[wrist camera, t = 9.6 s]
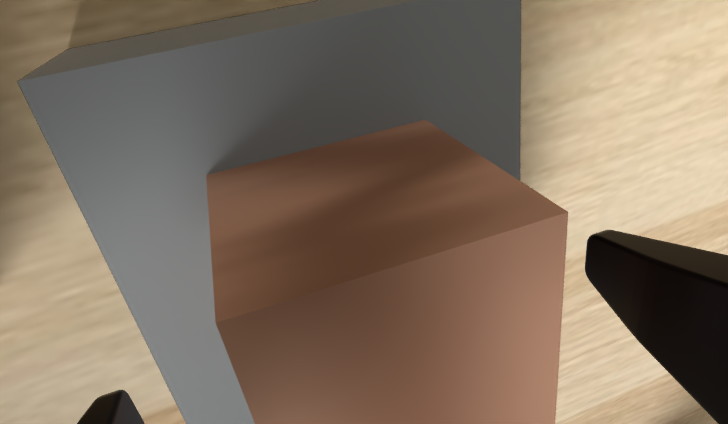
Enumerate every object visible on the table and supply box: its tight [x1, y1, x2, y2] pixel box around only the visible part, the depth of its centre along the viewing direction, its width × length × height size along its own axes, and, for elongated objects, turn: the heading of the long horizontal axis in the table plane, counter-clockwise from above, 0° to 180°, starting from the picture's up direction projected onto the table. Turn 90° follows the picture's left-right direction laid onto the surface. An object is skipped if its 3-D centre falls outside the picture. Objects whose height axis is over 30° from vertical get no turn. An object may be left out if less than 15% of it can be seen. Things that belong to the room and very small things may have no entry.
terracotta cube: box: [206, 120, 568, 424], centre depth 10 cm, size 5×5×5 cm
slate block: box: [17, 0, 521, 424], centre depth 14 cm, size 10×10×4 cm
